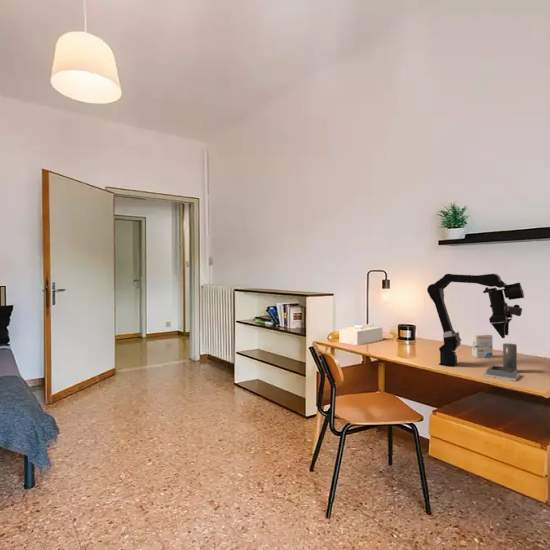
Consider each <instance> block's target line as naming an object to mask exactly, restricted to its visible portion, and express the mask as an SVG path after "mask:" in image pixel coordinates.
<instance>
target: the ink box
mask: <svg viewBox="0 0 550 550" xmlns="http://www.w3.org/2000/svg"><path fill="white" fill-rule="evenodd" d="M471 356H472V357H473V356H474V357H473V358H475V357H476V358H475V359H486V358H487V357H492V358H493V335H492V334H489V333H476V334H475V333H472V334H471ZM487 359H488V358H487Z"/></svg>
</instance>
